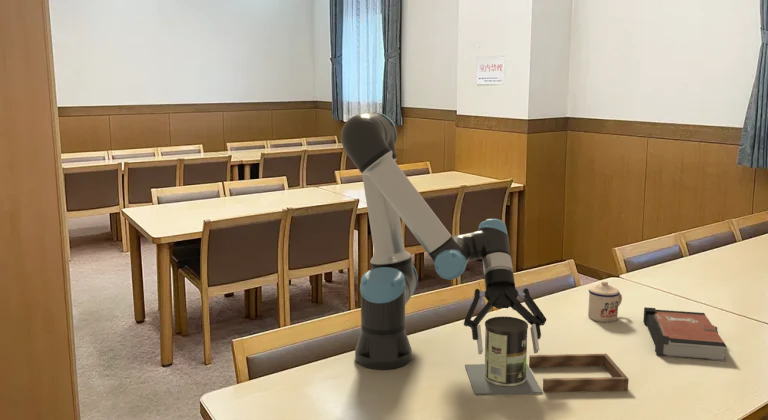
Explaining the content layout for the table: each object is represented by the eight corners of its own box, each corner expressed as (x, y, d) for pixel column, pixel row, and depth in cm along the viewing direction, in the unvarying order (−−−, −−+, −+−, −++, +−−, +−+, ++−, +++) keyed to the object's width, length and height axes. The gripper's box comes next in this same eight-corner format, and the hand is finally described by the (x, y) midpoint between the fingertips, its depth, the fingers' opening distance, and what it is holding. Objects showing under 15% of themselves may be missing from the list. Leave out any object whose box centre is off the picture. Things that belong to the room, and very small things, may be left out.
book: (728, 363, 169) (730, 345, 168) (656, 357, 173) (658, 339, 172) (705, 327, 194) (706, 311, 193) (643, 322, 198) (644, 307, 197)
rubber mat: (474, 394, 152) (474, 393, 152) (464, 365, 168) (465, 364, 168) (542, 393, 153) (542, 392, 153) (526, 364, 168) (526, 363, 168)
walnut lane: (543, 392, 153) (544, 380, 153) (529, 365, 168) (529, 355, 167) (627, 390, 154) (628, 378, 153) (605, 364, 168) (606, 353, 168)
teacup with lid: (602, 324, 196) (604, 287, 194) (581, 315, 204) (582, 279, 202) (631, 318, 201) (633, 282, 199) (609, 309, 209) (611, 274, 207)
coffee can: (526, 370, 164) (528, 317, 162) (526, 388, 154) (528, 332, 152) (485, 367, 166) (486, 314, 164) (482, 384, 156) (483, 329, 154)
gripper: (543, 280, 172) (556, 356, 160) (449, 281, 172) (455, 358, 160) (549, 266, 166) (563, 345, 154) (452, 267, 165) (458, 346, 154)
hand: (508, 351), depth 157 cm, fingers open, 13 cm apart
